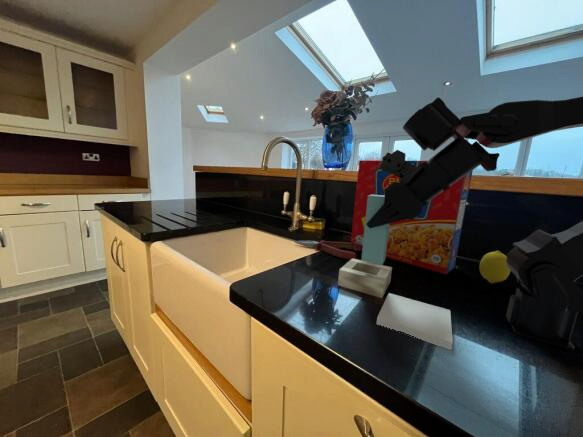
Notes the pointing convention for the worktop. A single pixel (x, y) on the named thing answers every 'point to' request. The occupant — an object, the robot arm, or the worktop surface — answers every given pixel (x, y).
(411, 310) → the pad
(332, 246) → the pliers
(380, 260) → the post
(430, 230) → the pasta box
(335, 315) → the worktop surface
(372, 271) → the socket block
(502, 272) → the lemon
